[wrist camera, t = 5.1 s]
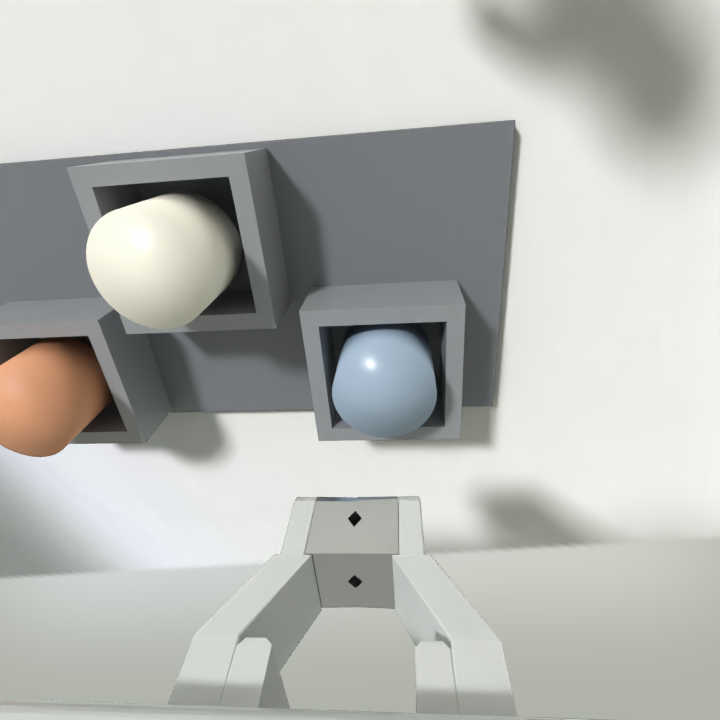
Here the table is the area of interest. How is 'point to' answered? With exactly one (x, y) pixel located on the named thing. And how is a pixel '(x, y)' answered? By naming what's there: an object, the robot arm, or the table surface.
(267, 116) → the table surface
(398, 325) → the slate button
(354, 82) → the table surface
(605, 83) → the table surface
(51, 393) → the rust button
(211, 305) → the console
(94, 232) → the cream button
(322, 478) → the table surface
